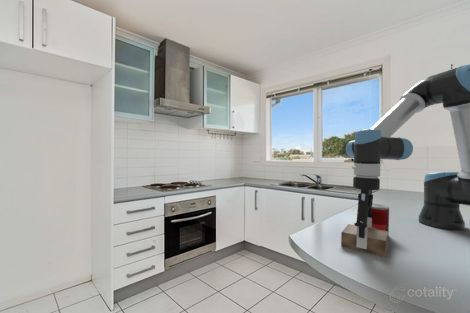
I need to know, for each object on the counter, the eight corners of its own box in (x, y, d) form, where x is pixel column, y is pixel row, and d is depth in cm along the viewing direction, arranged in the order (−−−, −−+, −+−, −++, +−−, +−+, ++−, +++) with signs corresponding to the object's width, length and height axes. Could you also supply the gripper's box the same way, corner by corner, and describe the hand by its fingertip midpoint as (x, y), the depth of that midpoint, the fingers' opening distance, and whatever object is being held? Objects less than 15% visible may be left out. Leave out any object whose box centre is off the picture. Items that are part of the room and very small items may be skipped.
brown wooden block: (388, 246, 74) (388, 231, 74) (385, 258, 66) (385, 241, 66) (348, 237, 82) (348, 224, 82) (341, 247, 73) (341, 231, 73)
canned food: (392, 239, 80) (393, 208, 80) (367, 237, 82) (368, 207, 82) (382, 232, 88) (383, 204, 88) (360, 230, 89) (361, 202, 89)
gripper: (358, 174, 86) (357, 229, 86) (346, 178, 66) (344, 250, 66) (382, 175, 81) (380, 233, 81) (376, 180, 61) (374, 257, 61)
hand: (364, 241), depth 74 cm, fingers open, 13 cm apart
